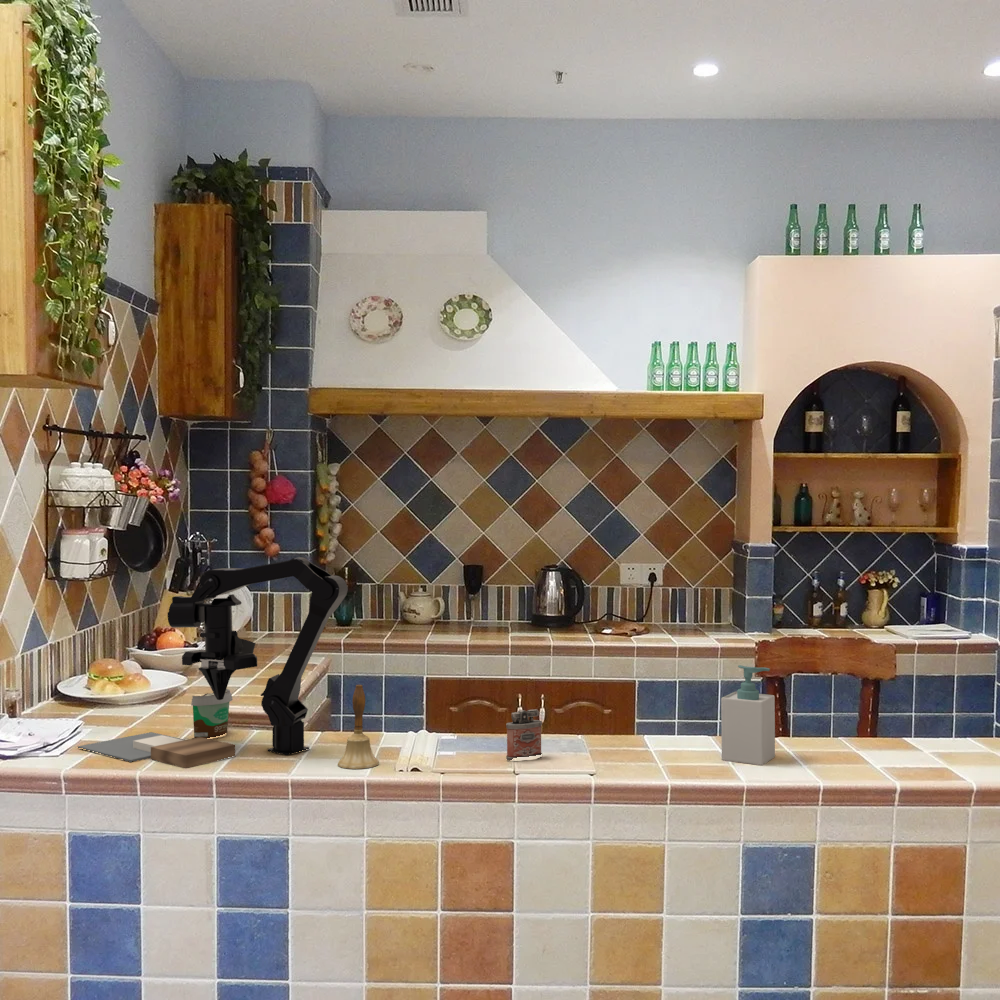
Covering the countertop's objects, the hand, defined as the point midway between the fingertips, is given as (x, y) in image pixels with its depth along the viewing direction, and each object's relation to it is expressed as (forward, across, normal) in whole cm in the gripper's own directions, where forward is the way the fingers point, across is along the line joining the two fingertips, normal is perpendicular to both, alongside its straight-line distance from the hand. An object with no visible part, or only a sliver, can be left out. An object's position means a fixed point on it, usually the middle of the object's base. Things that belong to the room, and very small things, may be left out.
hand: (220, 699), depth 214 cm
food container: (+11, +11, -8) cm, 17 cm away
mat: (+10, +15, +9) cm, 20 cm away
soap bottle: (+14, -95, -59) cm, 113 cm away
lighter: (+13, -57, -32) cm, 67 cm away
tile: (+10, +9, +8) cm, 16 cm away
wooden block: (+10, -2, +8) cm, 14 cm away
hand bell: (+12, -33, -8) cm, 36 cm away
